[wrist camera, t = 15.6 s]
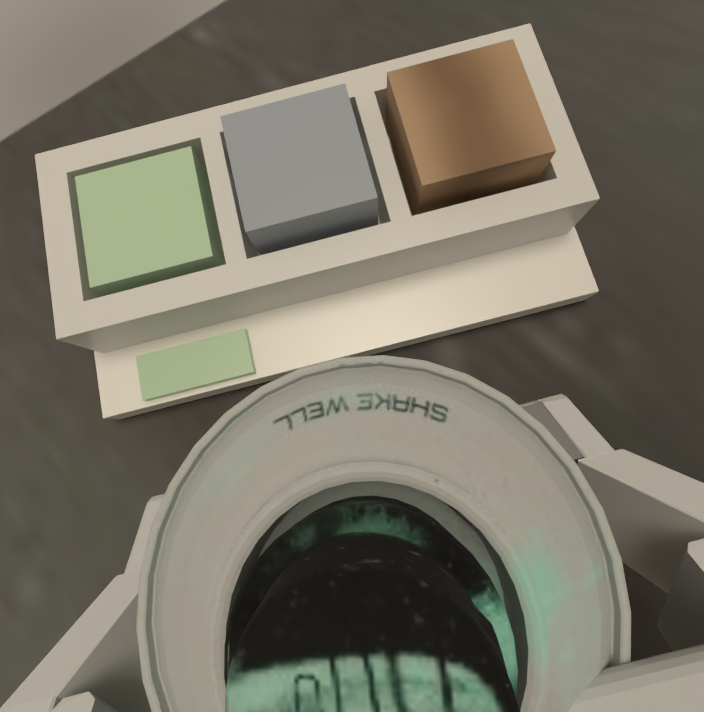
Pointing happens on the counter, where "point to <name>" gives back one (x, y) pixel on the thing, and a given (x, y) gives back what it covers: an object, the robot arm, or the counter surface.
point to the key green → (148, 221)
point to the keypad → (316, 257)
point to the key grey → (300, 170)
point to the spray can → (378, 554)
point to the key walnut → (466, 127)
